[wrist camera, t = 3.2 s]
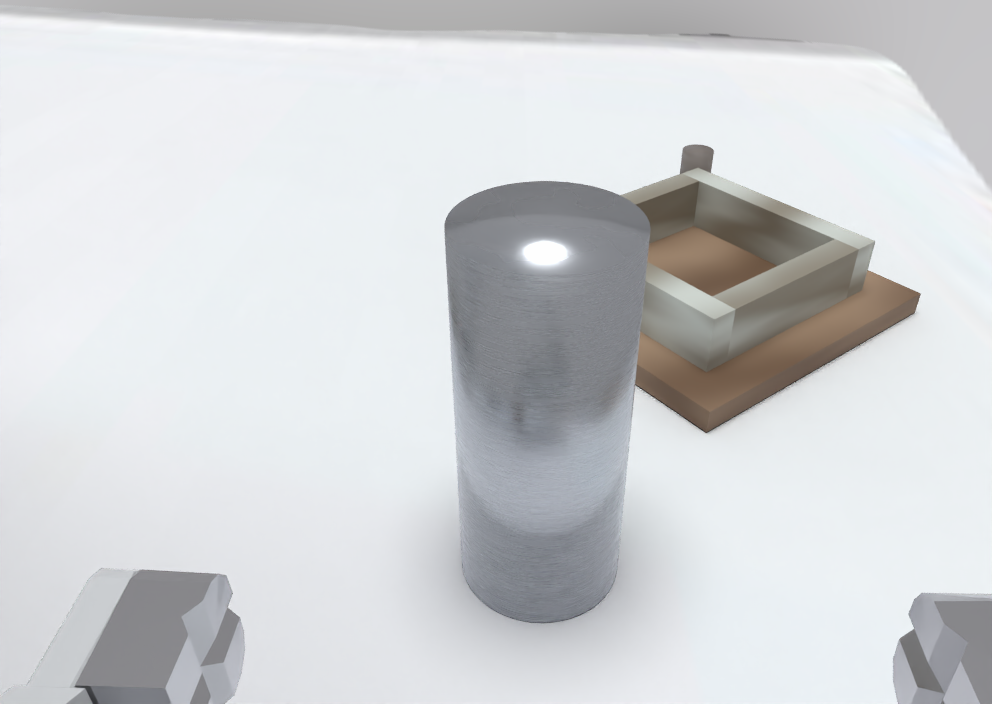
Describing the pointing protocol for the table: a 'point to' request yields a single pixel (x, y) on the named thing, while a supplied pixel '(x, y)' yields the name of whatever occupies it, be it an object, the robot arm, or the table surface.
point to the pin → (543, 388)
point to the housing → (747, 293)
